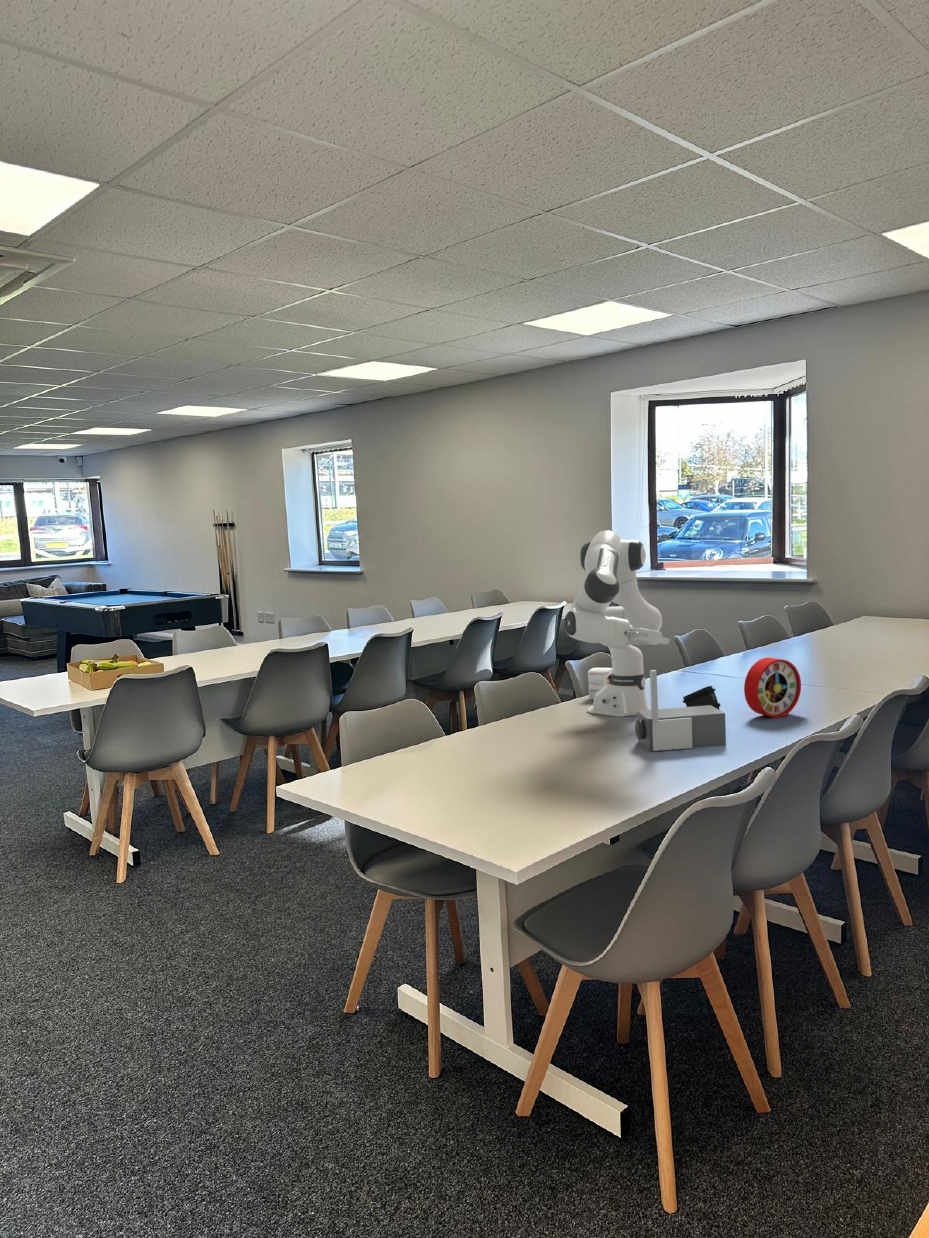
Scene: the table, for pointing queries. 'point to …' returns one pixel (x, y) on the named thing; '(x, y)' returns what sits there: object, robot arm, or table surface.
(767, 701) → the toy clock
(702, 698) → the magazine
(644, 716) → the camera housing
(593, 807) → the table surface
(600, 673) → the ink box
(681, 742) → the door
